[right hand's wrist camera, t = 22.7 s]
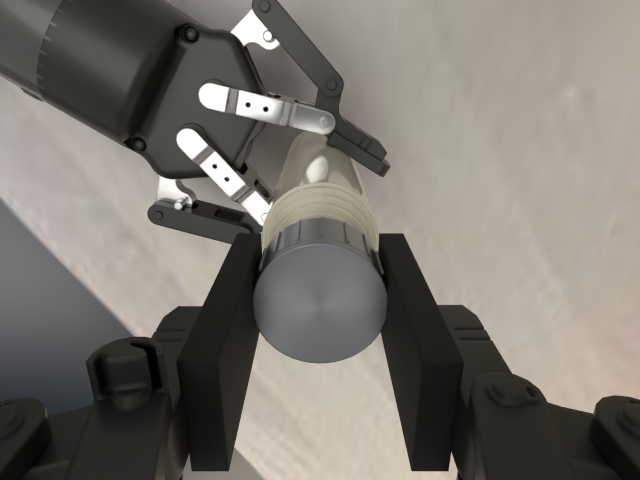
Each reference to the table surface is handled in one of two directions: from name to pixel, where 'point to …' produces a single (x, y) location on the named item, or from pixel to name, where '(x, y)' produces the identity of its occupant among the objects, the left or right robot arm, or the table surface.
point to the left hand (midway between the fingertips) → (358, 205)
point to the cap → (320, 291)
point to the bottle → (319, 189)
